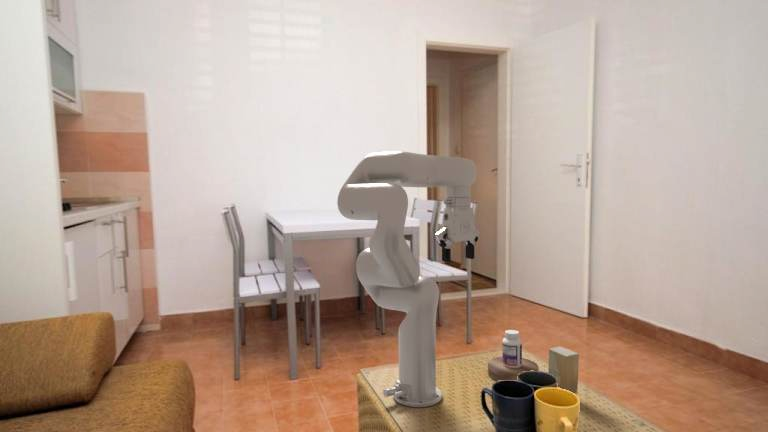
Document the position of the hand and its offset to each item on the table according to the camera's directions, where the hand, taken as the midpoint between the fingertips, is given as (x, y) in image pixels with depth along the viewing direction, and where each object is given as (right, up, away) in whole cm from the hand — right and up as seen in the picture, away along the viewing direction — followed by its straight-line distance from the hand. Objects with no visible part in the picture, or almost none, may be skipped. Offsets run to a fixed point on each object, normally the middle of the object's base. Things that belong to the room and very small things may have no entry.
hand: (458, 260), depth 141 cm
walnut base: (+15, -33, -7) cm, 36 cm away
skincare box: (+23, -34, -21) cm, 46 cm away
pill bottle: (+14, -30, -7) cm, 34 cm away
